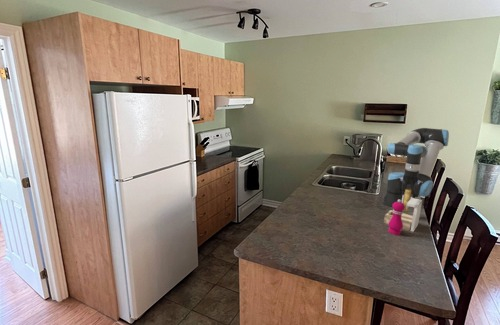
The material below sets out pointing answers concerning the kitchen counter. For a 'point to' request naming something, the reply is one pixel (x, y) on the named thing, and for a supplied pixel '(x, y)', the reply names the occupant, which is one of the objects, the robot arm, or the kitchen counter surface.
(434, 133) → the robot arm
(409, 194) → the peg
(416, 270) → the kitchen counter surface
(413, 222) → the awning
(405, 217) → the socket block
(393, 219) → the pepper mill
